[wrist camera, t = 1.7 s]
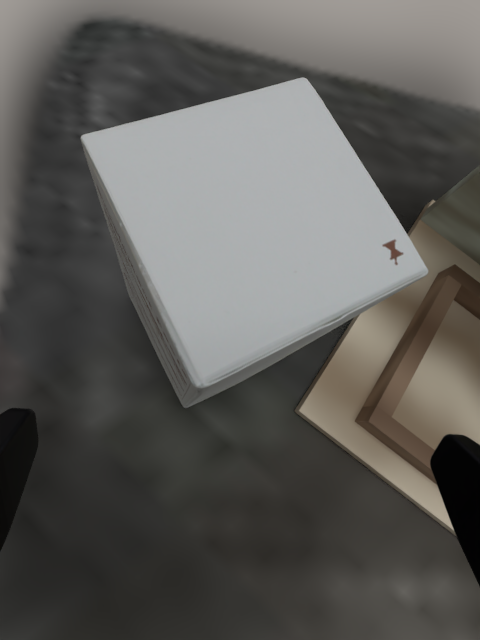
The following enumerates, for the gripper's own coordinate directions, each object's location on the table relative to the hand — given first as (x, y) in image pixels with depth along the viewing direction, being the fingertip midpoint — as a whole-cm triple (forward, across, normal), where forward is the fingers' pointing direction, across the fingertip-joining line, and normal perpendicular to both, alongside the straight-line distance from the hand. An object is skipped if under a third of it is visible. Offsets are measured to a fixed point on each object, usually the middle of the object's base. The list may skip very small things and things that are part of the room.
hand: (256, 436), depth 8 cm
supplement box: (+13, 0, +5) cm, 14 cm away
